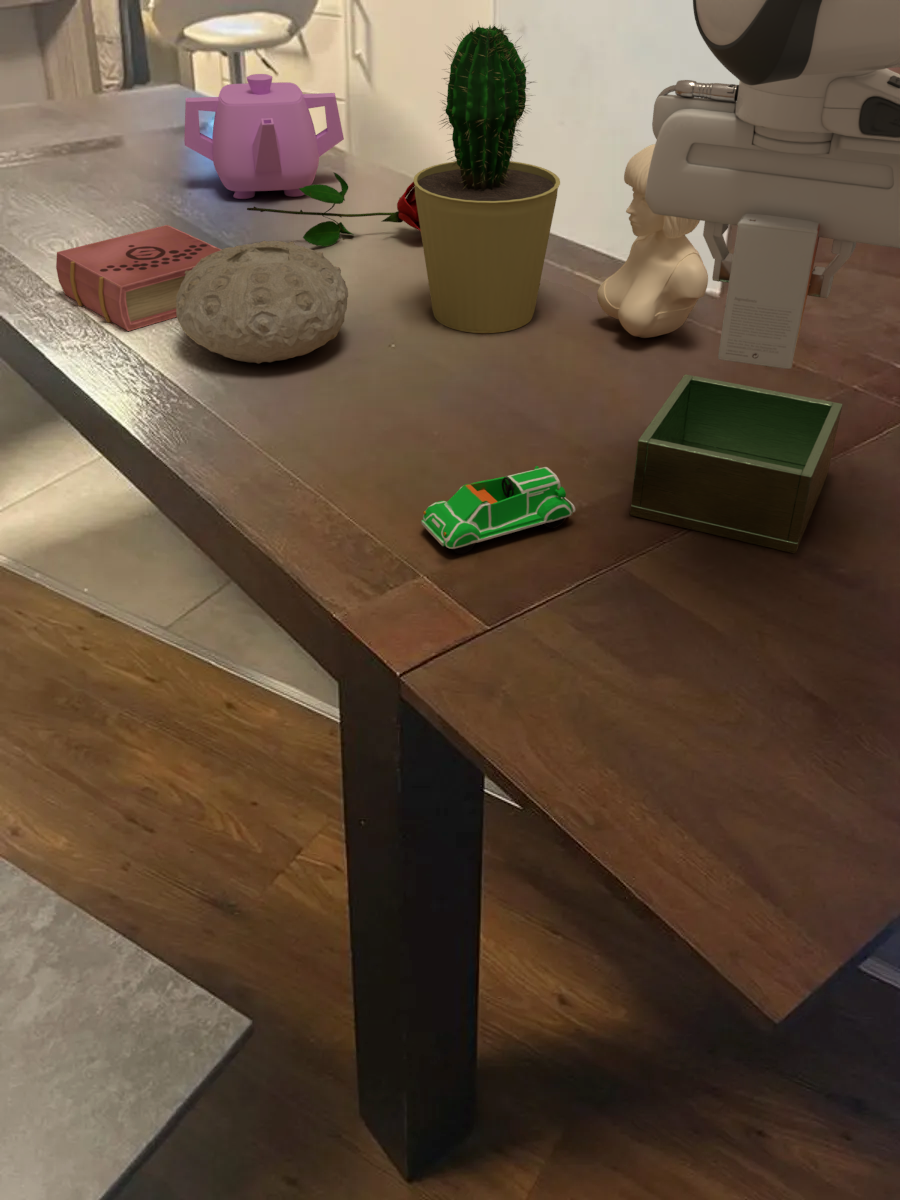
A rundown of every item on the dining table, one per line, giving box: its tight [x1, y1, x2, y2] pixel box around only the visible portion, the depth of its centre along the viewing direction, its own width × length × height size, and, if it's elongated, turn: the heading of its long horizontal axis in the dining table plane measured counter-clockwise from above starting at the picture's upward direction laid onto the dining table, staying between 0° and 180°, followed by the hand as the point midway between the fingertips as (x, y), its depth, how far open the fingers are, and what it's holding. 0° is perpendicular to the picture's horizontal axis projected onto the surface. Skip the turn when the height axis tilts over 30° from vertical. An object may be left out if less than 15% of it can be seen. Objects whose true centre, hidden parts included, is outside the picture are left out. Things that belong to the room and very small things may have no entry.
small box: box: [717, 214, 820, 370], centre depth 88 cm, size 8×6×10 cm
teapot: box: [183, 73, 345, 200], centre depth 167 cm, size 19×18×15 cm
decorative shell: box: [176, 240, 349, 365], centre depth 123 cm, size 18×18×10 cm
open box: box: [629, 374, 843, 554], centre depth 98 cm, size 14×14×7 cm
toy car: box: [420, 465, 576, 555], centre depth 95 cm, size 12×5×4 cm, turn 118°
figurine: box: [596, 143, 709, 339], centre depth 123 cm, size 14×9×20 cm
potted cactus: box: [412, 21, 561, 334], centre depth 124 cm, size 15×15×30 cm
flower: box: [246, 172, 421, 248], centre depth 150 cm, size 9×9×30 cm
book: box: [55, 224, 222, 332], centre depth 135 cm, size 14×15×5 cm
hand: (771, 287), depth 89 cm, fingers closed on small box, 6 cm apart
